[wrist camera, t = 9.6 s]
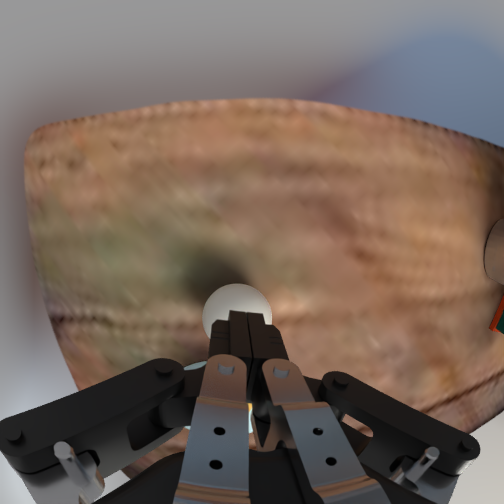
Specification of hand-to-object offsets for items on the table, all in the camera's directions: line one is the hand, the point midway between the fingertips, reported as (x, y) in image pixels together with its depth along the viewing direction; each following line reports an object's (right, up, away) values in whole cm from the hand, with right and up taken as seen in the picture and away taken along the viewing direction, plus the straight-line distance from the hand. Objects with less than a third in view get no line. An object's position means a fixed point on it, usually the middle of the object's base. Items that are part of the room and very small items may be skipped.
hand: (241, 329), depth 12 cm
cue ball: (-1, -2, +11) cm, 12 cm away
